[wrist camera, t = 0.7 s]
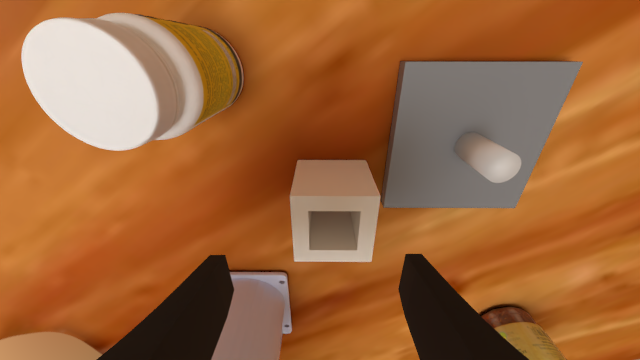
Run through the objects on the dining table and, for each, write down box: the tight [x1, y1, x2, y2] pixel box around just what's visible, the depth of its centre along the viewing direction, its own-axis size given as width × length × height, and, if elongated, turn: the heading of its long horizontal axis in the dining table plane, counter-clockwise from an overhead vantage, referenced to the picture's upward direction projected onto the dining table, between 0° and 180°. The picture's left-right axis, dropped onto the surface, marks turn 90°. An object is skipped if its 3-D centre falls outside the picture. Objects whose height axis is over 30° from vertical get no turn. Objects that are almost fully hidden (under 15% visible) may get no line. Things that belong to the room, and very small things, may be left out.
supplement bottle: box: [22, 13, 244, 151], centre depth 11 cm, size 5×5×8 cm
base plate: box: [381, 61, 583, 208], centre depth 15 cm, size 10×10×4 cm
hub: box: [290, 160, 381, 262], centre depth 17 cm, size 5×5×5 cm
